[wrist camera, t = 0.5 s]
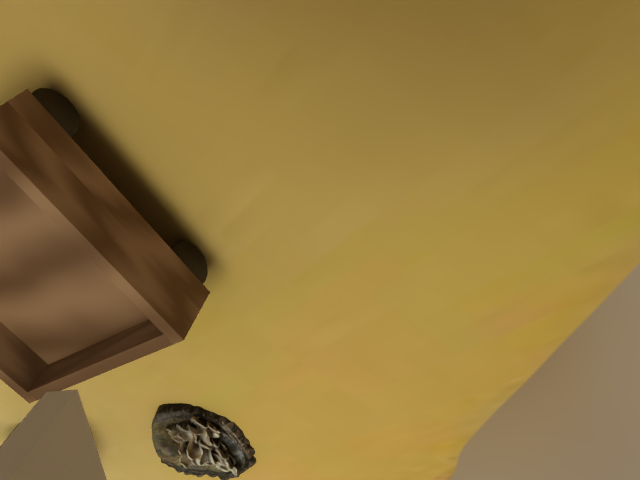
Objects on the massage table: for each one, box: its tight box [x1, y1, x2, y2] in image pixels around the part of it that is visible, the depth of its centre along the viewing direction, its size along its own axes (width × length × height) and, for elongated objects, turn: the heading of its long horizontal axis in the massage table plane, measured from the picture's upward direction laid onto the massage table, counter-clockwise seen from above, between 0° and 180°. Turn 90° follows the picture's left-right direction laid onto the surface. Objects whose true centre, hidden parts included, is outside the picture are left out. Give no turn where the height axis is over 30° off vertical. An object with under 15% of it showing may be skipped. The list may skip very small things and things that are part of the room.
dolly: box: [0, 88, 210, 403], centre depth 44 cm, size 18×18×9 cm
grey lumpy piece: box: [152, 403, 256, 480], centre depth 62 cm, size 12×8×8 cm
